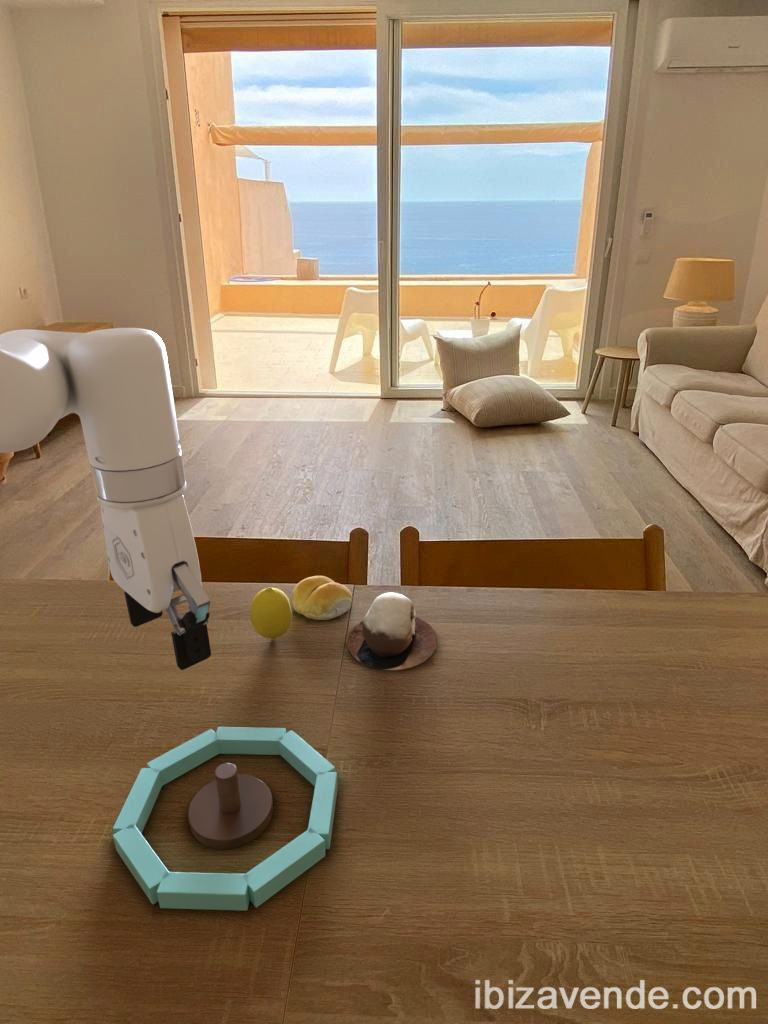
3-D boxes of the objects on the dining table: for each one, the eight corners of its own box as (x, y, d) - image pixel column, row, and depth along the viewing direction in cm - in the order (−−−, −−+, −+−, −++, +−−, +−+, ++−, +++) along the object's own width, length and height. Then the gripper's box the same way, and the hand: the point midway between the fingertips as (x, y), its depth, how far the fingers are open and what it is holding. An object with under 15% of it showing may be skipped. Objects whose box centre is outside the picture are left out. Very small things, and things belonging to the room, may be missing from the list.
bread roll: (322, 585, 108) (321, 562, 106) (361, 606, 102) (360, 583, 100) (279, 605, 103) (277, 581, 101) (317, 629, 97) (316, 604, 95)
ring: (188, 958, 55) (185, 942, 54) (89, 810, 68) (85, 795, 67) (376, 817, 67) (376, 802, 66) (261, 716, 80) (259, 702, 80)
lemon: (245, 646, 93) (239, 594, 90) (265, 624, 98) (260, 574, 95) (282, 654, 91) (277, 601, 88) (300, 631, 96) (297, 581, 93)
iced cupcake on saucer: (359, 604, 100) (405, 564, 95) (409, 655, 101) (457, 618, 96) (325, 648, 90) (375, 606, 85) (381, 704, 90) (434, 666, 85)
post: (216, 865, 62) (209, 819, 60) (174, 812, 68) (166, 769, 66) (289, 815, 67) (285, 771, 65) (244, 770, 73) (239, 729, 70)
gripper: (59, 463, 64) (96, 620, 71) (143, 518, 52) (176, 700, 59) (137, 444, 68) (164, 593, 75) (230, 490, 57) (251, 662, 64)
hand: (169, 640), depth 67 cm, fingers open, 9 cm apart
